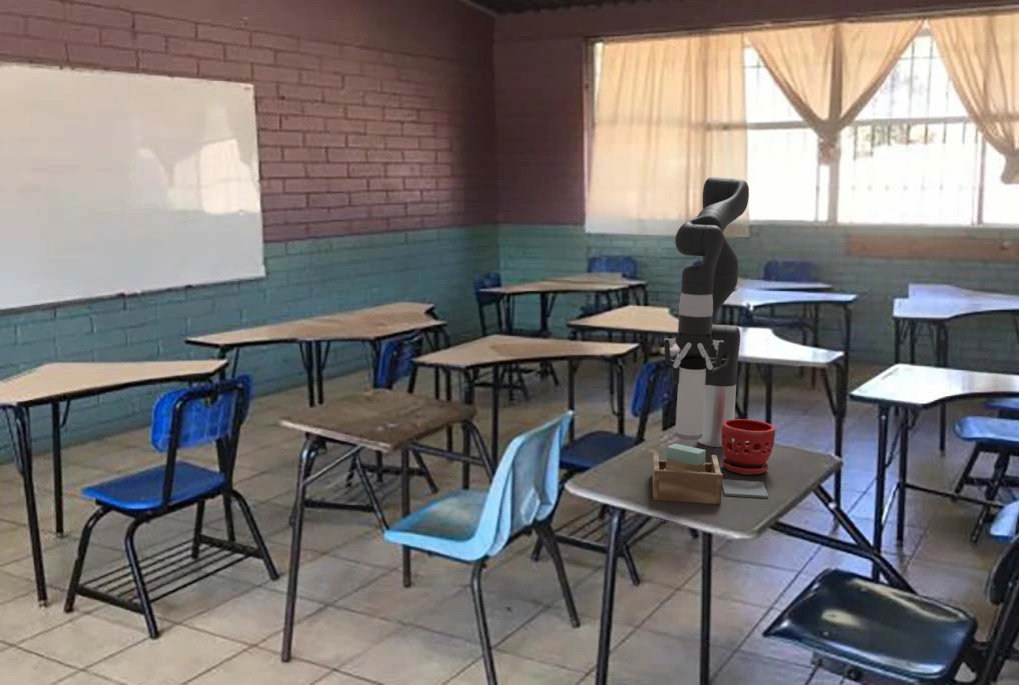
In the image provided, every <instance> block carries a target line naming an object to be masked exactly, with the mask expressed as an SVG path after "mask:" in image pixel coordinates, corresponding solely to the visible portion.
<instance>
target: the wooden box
mask: <svg viewBox="0 0 1019 685" xmlns="http://www.w3.org/2000/svg"><path fill="white" fill-rule="evenodd" d="M652 456H653V458H652V476H651V477H652V499H653V501H665V502H666V501H667V502H682V503H696V504H699V503H700V504H710V505H711V504H715V505H721V504H722V494H723V487H722V479H724V478H723V477H724V476H723V475H724V474H723V473H722V472H721V471H722V470H721V468H720V465H719V464H720V463H719V460H718V455H716V454H712V455H711V458H710V459H711V461H710V462H705V472H692V471H676V470H664V468H666V460H667V459H659V452H658V451H653V455H652Z"/></svg>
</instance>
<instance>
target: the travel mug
mask: <svg viewBox="0 0 1019 685" xmlns="http://www.w3.org/2000/svg"><path fill="white" fill-rule="evenodd" d="M706 369H707V365H706V360H705V357H704V358H703V357H702V356H700V357H696V356H690V357H689V356H686V355H685V357H684V358H682V360H681V363H680V364H679V383H678V384H677V396H676V398H677V400H676V415H675V429H674V430H675V432H674V435H675V436H676V437H677V439H681V440H686V441H699V439H700V438H702V432H703V431H702V430H703V417H704V401H705V384H706Z"/></svg>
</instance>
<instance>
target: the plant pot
mask: <svg viewBox="0 0 1019 685" xmlns="http://www.w3.org/2000/svg"><path fill="white" fill-rule="evenodd" d="M775 437H776V427H775V426H774V425H773V424H771V423H768V422H764V421H761V420H754V419H746V418H743V419H741V418H738V419H737V418H734V419H732V420H726V421H724V422H723V424H722V436H721V440H722V447H721V449H722V452H723V454H724V458H723V459H722V460H721V464H722V465H723V467H724V468H725V469H726V470H728V471H729V472H732V473H736V474H739V475H741V474H742V475H750V476H751V475H753V476H754V475H759V474H762V473H765V472H766V471H768V470H769V466H770V465H769V463H768V460H769V458H770V457H771V454H772V452H773V448H774V444H775V443H774V442H775ZM732 439H733V440H734V441H732Z"/></svg>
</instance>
